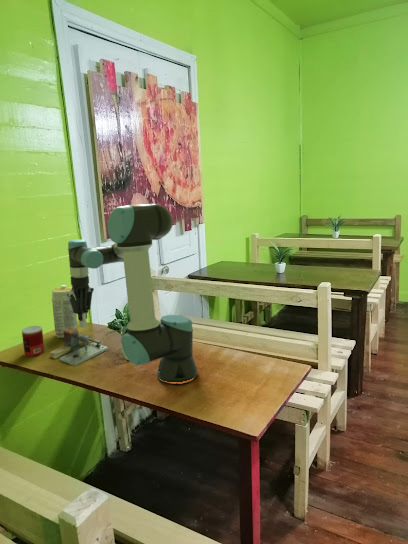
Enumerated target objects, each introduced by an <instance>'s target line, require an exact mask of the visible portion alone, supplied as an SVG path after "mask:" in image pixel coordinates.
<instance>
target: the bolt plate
mask: <svg viewBox="0 0 408 544" xmlns="http://www.w3.org/2000/svg"><path fill="white" fill-rule="evenodd" d="M108 350H109V347H108V346H106V345H104V344H101V343H100V344H99V346H97V343H95V342H92V343H88V344H87V351H85V345H84V346H82V347H80V348H79V349H76V350H74V351H71V352H69V353H66V354H64V355H62V356H60V357H59V361H60V362H63V363H66V364H69V365H71V366H73V367H76V366H77V365H81V364H83V363H84V362H86V361H88V360H90V359H92V358H94V357H96V356H99V354H101V353H104V352H106V351H108Z"/></svg>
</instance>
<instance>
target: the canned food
mask: <svg viewBox="0 0 408 544" xmlns="http://www.w3.org/2000/svg"><path fill="white" fill-rule="evenodd" d="M21 335H22V336H21V337H22V345H23V351H24V355H25V356H26V357H27V358H33V357H34V358H35V357H39V356H41V355H43V353H44V352H45V345H44V335H43V327H42V326H40V325H31V326H30V325H29V326H26V327H24V328H23V329H22V330H21Z"/></svg>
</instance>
